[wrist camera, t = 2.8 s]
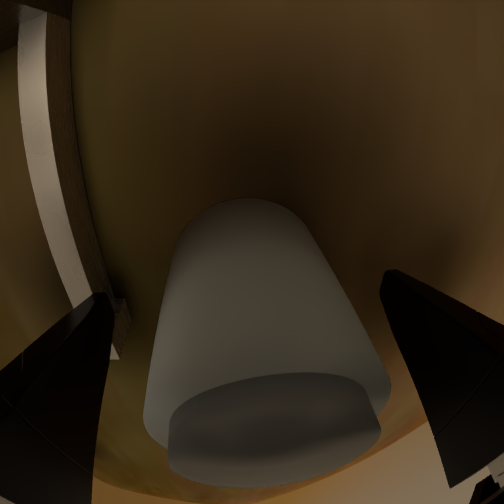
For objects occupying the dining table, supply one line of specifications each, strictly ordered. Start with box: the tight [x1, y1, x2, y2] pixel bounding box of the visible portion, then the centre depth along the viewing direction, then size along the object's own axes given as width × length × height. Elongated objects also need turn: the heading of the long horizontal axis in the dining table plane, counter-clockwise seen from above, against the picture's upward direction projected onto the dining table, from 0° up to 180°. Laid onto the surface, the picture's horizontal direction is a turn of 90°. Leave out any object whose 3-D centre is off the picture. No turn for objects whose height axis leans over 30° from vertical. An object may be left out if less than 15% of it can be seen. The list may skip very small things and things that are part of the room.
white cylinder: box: [143, 198, 391, 488], centre depth 7 cm, size 5×5×7 cm
